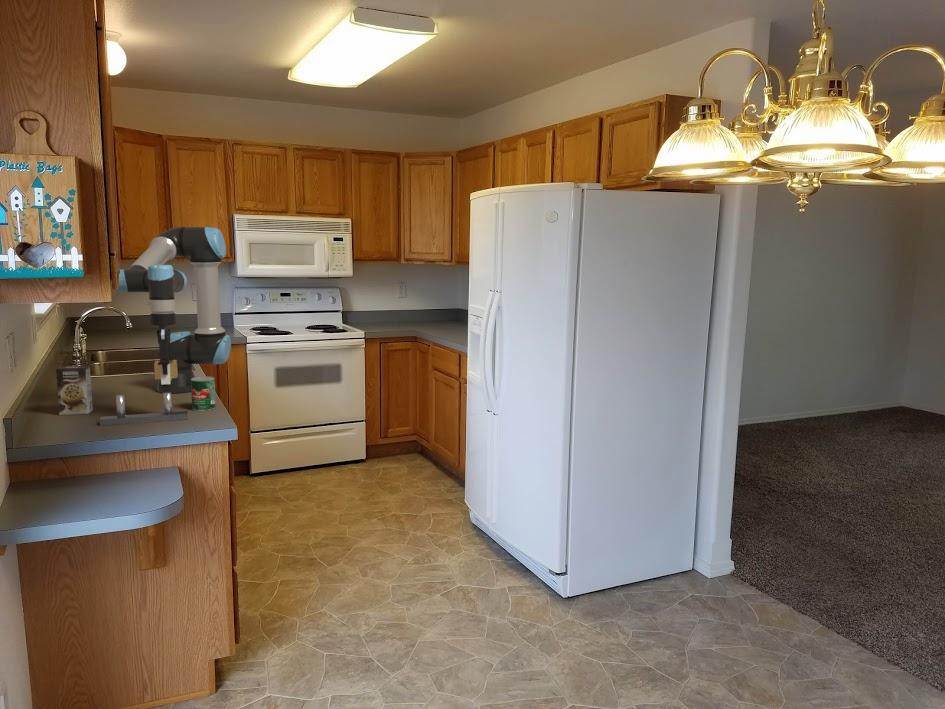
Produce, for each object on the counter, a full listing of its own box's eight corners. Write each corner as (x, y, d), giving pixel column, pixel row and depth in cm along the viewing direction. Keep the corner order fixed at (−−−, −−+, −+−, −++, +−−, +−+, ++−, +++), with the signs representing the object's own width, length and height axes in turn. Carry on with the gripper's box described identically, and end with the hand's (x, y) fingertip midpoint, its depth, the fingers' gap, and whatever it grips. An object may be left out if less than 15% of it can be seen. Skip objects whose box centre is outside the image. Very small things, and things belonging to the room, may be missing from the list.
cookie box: (58, 415, 228) (54, 368, 226) (64, 411, 235) (60, 365, 232) (88, 414, 231) (85, 367, 228) (93, 409, 237) (90, 364, 235)
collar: (156, 375, 225) (155, 360, 224) (177, 374, 227) (176, 360, 226) (155, 379, 219) (154, 363, 218) (176, 378, 221) (176, 363, 220)
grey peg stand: (101, 422, 220) (99, 395, 218) (188, 416, 229) (187, 390, 228) (100, 425, 216) (98, 398, 215) (188, 419, 226) (186, 393, 224)
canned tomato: (192, 412, 236) (190, 381, 234) (192, 407, 243) (190, 377, 242) (216, 410, 239) (215, 379, 237) (215, 405, 246) (214, 375, 245)
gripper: (152, 310, 227) (156, 377, 231) (147, 315, 209) (151, 388, 213) (176, 309, 230) (179, 376, 234) (174, 314, 212) (177, 386, 216)
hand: (166, 382), depth 223 cm, fingers closed on collar, 6 cm apart
